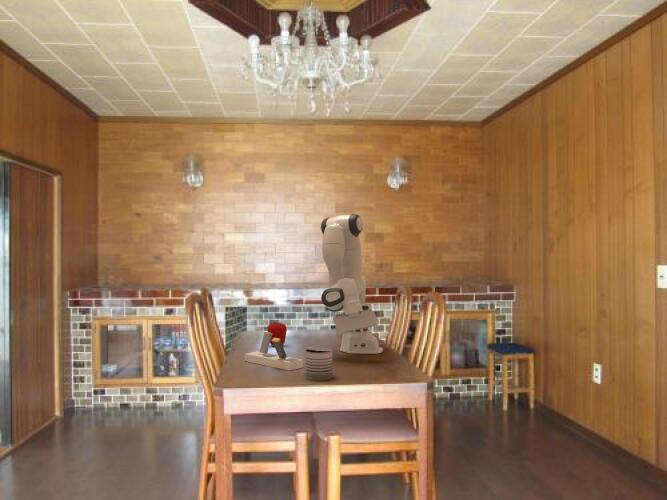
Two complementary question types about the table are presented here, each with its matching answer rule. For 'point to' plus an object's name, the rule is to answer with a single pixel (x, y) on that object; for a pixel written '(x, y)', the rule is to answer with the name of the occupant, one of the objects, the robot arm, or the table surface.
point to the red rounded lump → (277, 332)
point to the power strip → (274, 361)
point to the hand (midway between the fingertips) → (359, 339)
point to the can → (318, 363)
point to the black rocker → (279, 348)
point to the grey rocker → (265, 342)
